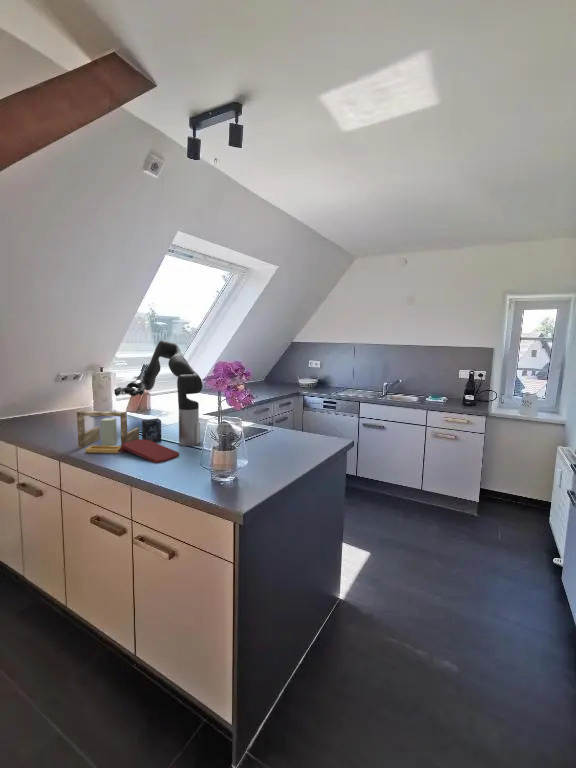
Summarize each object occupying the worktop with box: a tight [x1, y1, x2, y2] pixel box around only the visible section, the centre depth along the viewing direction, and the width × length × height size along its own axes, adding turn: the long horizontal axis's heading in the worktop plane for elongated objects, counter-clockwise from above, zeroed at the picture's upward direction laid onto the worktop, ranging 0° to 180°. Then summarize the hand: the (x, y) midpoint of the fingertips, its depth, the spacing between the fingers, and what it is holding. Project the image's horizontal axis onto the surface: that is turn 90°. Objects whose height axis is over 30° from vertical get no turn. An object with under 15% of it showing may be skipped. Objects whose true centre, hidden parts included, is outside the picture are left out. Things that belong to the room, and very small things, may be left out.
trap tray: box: [85, 444, 122, 455], centre depth 163 cm, size 14×6×2 cm, turn 89°
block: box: [99, 417, 118, 446], centre depth 173 cm, size 5×5×12 cm
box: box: [141, 418, 162, 443], centre depth 180 cm, size 8×6×11 cm
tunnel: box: [76, 410, 140, 449], centre depth 174 cm, size 21×16×16 cm
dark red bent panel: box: [120, 438, 180, 464], centre depth 160 cm, size 12×5×26 cm
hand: (124, 394), depth 191 cm, fingers open, 8 cm apart
